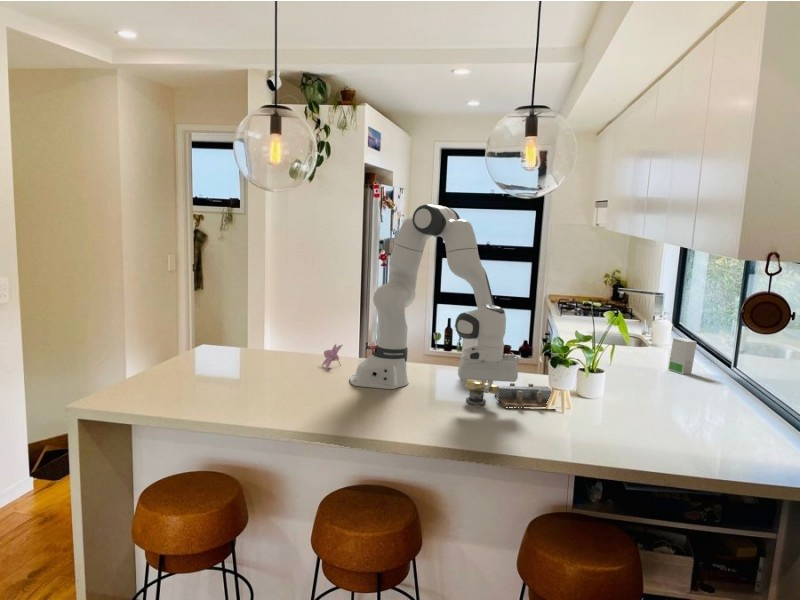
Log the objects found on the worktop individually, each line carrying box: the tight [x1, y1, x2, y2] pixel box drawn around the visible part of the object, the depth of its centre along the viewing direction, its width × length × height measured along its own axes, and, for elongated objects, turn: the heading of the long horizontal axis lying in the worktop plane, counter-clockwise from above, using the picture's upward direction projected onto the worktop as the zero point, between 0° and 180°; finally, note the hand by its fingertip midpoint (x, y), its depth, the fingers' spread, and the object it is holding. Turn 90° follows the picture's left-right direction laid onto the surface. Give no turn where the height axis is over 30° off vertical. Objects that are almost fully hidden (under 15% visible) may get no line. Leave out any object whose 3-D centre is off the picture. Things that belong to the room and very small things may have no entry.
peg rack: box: [494, 382, 547, 409], centre depth 204 cm, size 18×14×6 cm
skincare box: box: [667, 337, 698, 375], centre depth 265 cm, size 8×7×16 cm
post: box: [465, 389, 487, 406], centre depth 201 cm, size 7×7×5 cm
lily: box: [321, 343, 343, 370], centre depth 237 cm, size 12×12×10 cm
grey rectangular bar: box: [495, 385, 552, 402], centre depth 203 cm, size 19×5×4 cm, turn 95°
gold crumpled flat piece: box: [465, 379, 499, 395], centre depth 199 cm, size 12×8×2 cm, turn 44°
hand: (485, 392), depth 195 cm, fingers closed
